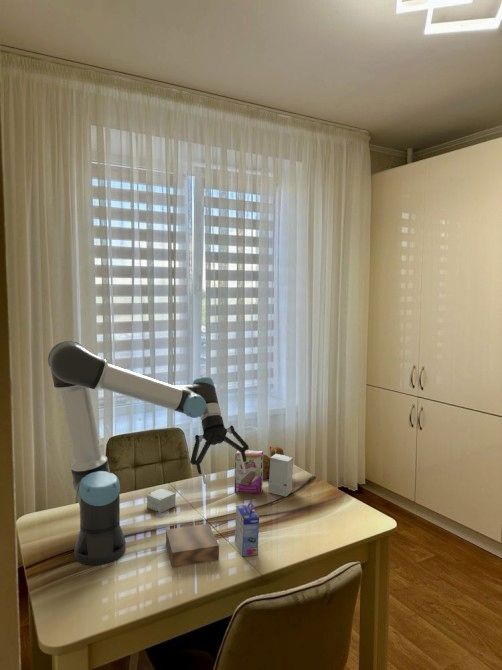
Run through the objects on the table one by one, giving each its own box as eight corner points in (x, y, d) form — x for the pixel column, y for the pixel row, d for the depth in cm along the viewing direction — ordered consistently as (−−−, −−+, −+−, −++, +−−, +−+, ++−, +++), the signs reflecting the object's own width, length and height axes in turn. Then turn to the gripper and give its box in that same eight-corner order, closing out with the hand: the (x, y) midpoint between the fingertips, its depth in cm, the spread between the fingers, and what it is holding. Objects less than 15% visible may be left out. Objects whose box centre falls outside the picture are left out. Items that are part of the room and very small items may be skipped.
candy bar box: (234, 492, 191) (234, 453, 189) (235, 487, 195) (236, 449, 194) (261, 494, 189) (262, 454, 188) (262, 489, 194) (263, 450, 193)
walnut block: (172, 568, 138) (172, 552, 138) (166, 544, 151) (166, 529, 151) (218, 561, 142) (219, 545, 142) (208, 538, 156) (208, 523, 155)
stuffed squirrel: (289, 479, 205) (290, 450, 204) (257, 482, 202) (258, 452, 200) (283, 471, 214) (283, 443, 213) (252, 473, 211) (253, 444, 210)
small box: (176, 506, 178) (176, 493, 178) (160, 513, 172) (160, 500, 171) (162, 500, 183) (162, 487, 182) (146, 507, 177) (146, 494, 176)
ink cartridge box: (259, 555, 145) (260, 510, 144) (241, 557, 144) (242, 512, 143) (250, 539, 155) (251, 496, 154) (234, 541, 153) (234, 498, 152)
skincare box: (268, 492, 191) (268, 457, 189) (274, 487, 196) (275, 452, 195) (287, 497, 187) (288, 461, 186) (292, 491, 192) (293, 456, 191)
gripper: (246, 412, 171) (261, 469, 161) (178, 430, 169) (190, 489, 159) (244, 405, 165) (260, 464, 154) (174, 424, 163) (186, 485, 152)
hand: (225, 477), depth 157 cm, fingers open, 13 cm apart
